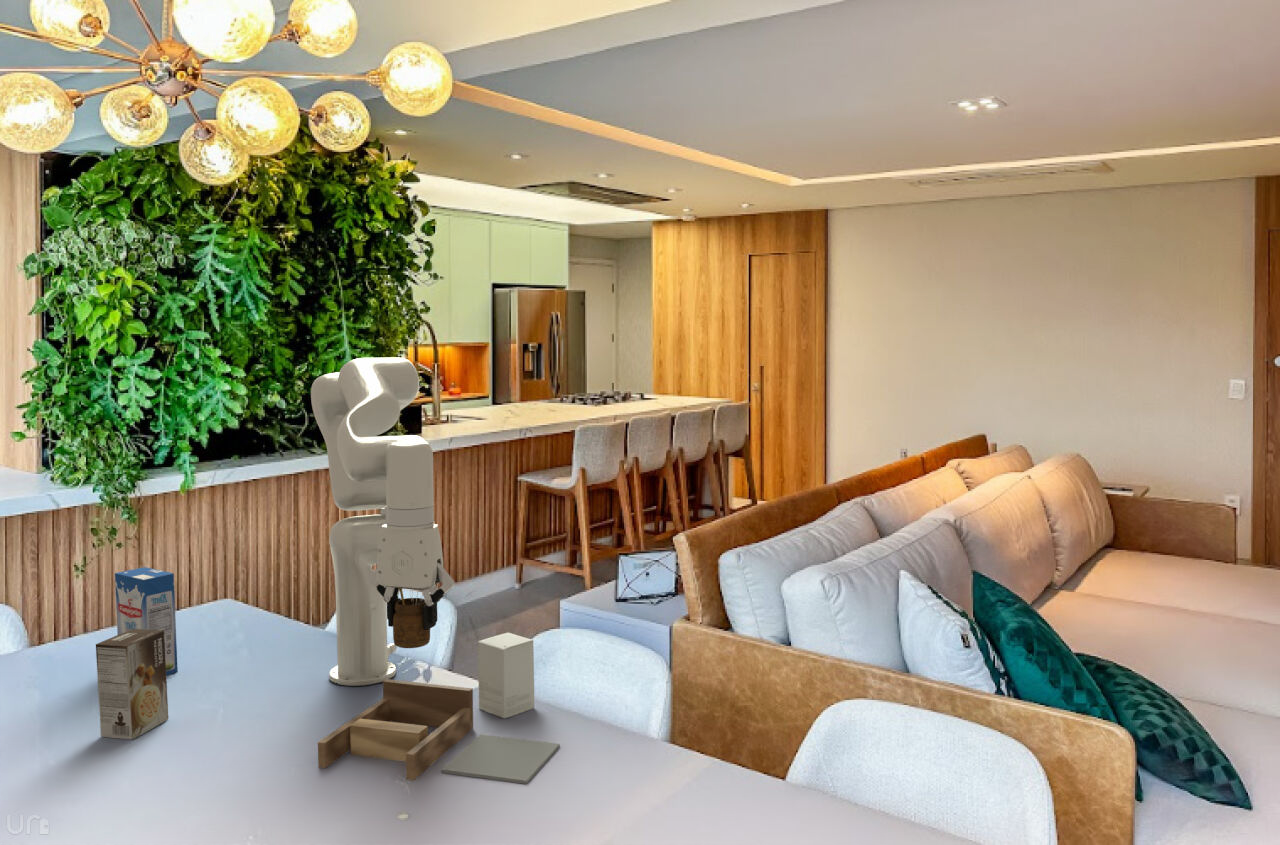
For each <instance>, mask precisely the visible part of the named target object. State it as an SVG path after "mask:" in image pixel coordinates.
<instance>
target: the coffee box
mask: <svg viewBox="0 0 1280 845" xmlns="http://www.w3.org/2000/svg"><path fill="white" fill-rule="evenodd" d="M95 653H96V654H95V655H96V657H95V658H96V675H97V690H98V708H99V709H98V710H99V724H100V725H99V727H100V737H101V738H109V739H121V740H122V739H123V740H132V741H133V740H135V739H136V738H138V737H140V736H142V735H143V734H145V733H147V732H149V731H150V730H152V729H154V728H155V727H158V726H159V725H160V724H163V723H164V722H166V721H168V720H169V704H168V703H169V701H168V682H167V676H166V660H165V642H164V630H146V629H131V630H129V631H127V632H124V633H122V634H119V635H118V634H117V635H114V636H112V637H110V638H108V639H105V640H103V641H101V642H98V643H95Z"/></svg>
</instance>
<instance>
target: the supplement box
mask: <svg viewBox="0 0 1280 845" xmlns="http://www.w3.org/2000/svg"><path fill="white" fill-rule="evenodd" d="M534 653H535V652H534V639H531V638H528V637H524V636H520V635H518V634H514V633H511V632H505V633H504V632H503V633H501V634H497V635H494V636H491V637H487V638H484V639H481V640H478V641H477V666H478V667H477V670H478V672H477V673H478V674H477V676H478V709H479V710H481V711H484V712H486V713H489V714H492V715H493V716H497V717H499V718H502V719H508V718H510V717H513V716H516V715H518V714H521V713H524V712H527V711H531V710H533V709H534V708H535V671H534V670H535V667H534V666H535V663H534V661H535V660H534V659H535V658H534Z"/></svg>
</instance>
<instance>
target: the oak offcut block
mask: <svg viewBox="0 0 1280 845" xmlns="http://www.w3.org/2000/svg"><path fill="white" fill-rule="evenodd" d="M428 727H429V726H424V725H415V724H407V723H399V722H391V721H390V722H386V721H377V720H368V719H359V720H357V721H356V722H354V723H353V724H352V725H350V740H351V750H350V755H351V756H359V757H365V758H372V759H373V758H375V759H380V760H390V761H398V762H406V753H407V752H409V751H410V750H411V749H412V748H414V747H415V746H416V745H417V744H419V743H420V742H421V741H422V740H424V739H425V738H426V737H427V736H429V732H428V730H429V729H428Z"/></svg>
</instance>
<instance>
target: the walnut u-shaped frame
mask: <svg viewBox="0 0 1280 845" xmlns="http://www.w3.org/2000/svg"><path fill="white" fill-rule="evenodd" d="M473 692H474V688H470V687H463V686H451V685H443V684H437V683H436V684H435V683H425V682H417V681H416V682H415V681H407V680H397V679H391V678H390V679H386V680H384V681H383V682H382V694H383V695H382V696H383V698H381V699H380V700H379V701H377V702H375V703H374V704H372V705H371V706H369V707H368V708H367V709H365V710H364V711H362V712H361V713H360V714H358V715H356V716H355V717H353V718H351V719H350V720H349V721H347V722H346V723H344V724H342V725H341V726H340V727H338V728H337V729H335V730H334V731H332V732H331V733H329V734H328V735H326V736H324V737H323V738H322V739H320V740H319V741H317V756H318V757H317V759H318V761H317V763H318V768H323V769H327V767H329V766H330V765H333V763H334V762H336V761H337V760H339V759H340V758H342V756H343V757H344V756H345V755H346V754H347V753H348V752H349V751H350V752H351V740H350V725H352V724H353V723H354V722H356V721H357V720H359V719H368V720H377V721H386V722H395V723H404V724H413V725H422V726H428V727H432V728H433V727H434V728H436V729H435V730H434V731H432V732H431V733H430V734H428V736H427V737H426V738H425V739H424V740H422V741H421V742H420V743H419V744H417V745H416V746H415V747H414V748H412V749H411V750H410V751H409V752H407V753H406V763H405V764H406V765H405V766H406V767H405V769H406V771H405V773H406V780H409V781H415V780H416V779H417V778H418V777H419V776H421V774H423V773H424V772H425V771H426V770H427V769H428V768H430V767H431V766H432V765H434V763H435V762H437V760H439V759H440V758H441V757H442V756H443V755H444V754H446V753H447V752H448V751H449V750H451V749H452V747H454V746H455V745H456V744H457V743H458V742H460V741H461V740H462V739H463V738H464V737H465V736H466V735H467V734H469V733H470V732H471V731H472V730H473V729H474V694H473Z"/></svg>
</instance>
